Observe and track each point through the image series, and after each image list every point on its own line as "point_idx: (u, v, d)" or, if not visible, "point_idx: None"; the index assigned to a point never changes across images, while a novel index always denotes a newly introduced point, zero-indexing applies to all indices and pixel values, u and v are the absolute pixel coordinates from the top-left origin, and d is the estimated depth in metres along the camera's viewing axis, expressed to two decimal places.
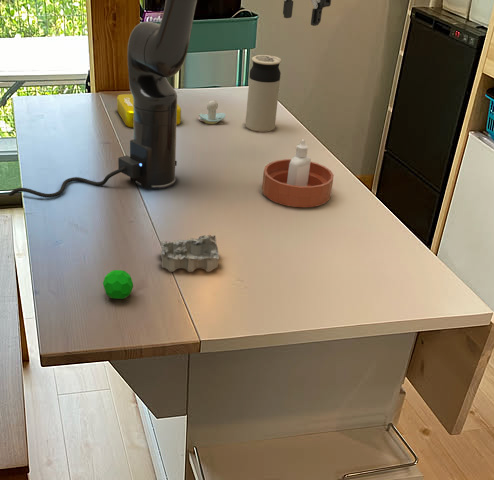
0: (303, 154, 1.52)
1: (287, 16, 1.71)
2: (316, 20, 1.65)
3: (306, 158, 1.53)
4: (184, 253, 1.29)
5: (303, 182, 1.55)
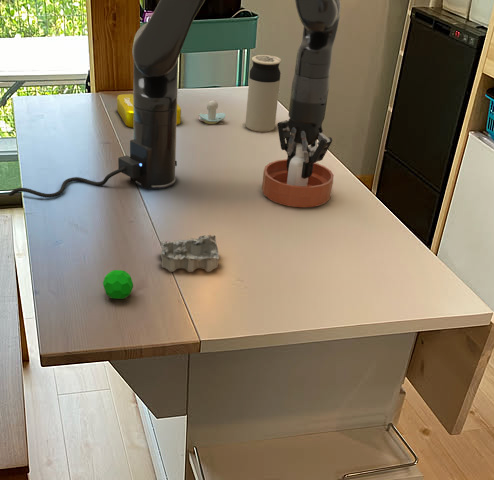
0: (303, 154, 1.52)
1: None
2: (307, 173, 1.53)
3: None
4: (184, 253, 1.29)
5: (303, 182, 1.55)
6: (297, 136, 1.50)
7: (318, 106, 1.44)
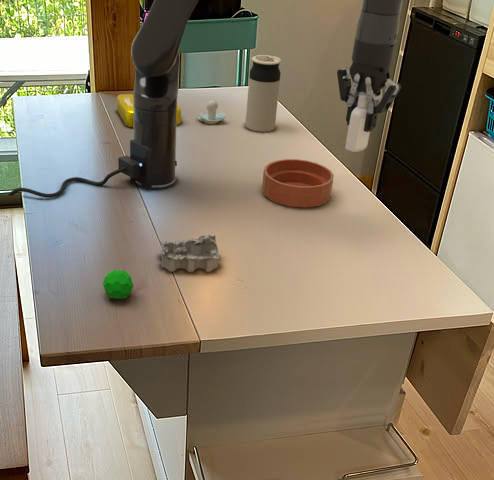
0: (366, 104, 1.37)
1: None
2: (370, 126, 1.38)
3: None
4: (184, 253, 1.29)
5: (364, 137, 1.40)
6: (360, 84, 1.35)
7: (387, 48, 1.29)
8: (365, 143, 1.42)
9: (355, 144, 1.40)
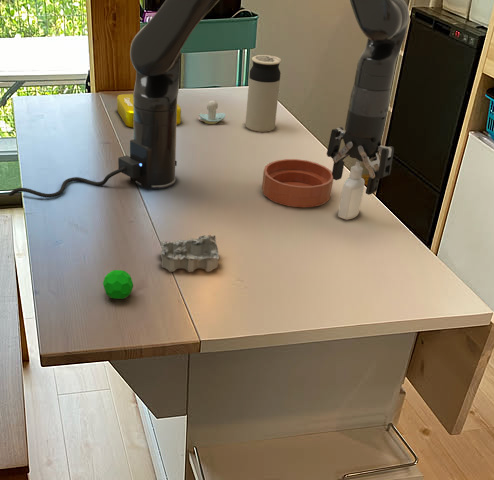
0: (358, 176, 1.45)
1: (337, 178, 1.49)
2: (372, 189, 1.43)
3: (361, 180, 1.46)
4: (184, 253, 1.29)
5: (356, 205, 1.48)
6: (353, 151, 1.42)
7: (378, 120, 1.35)
8: (357, 211, 1.49)
9: (347, 213, 1.48)
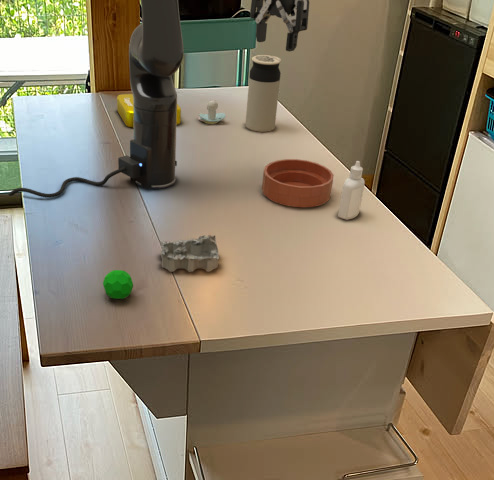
0: (358, 176, 1.45)
1: (260, 40, 1.54)
2: (291, 45, 1.48)
3: (361, 180, 1.46)
4: (184, 253, 1.29)
5: (356, 205, 1.48)
6: (272, 8, 1.48)
7: None
8: (357, 211, 1.49)
9: (347, 213, 1.48)
